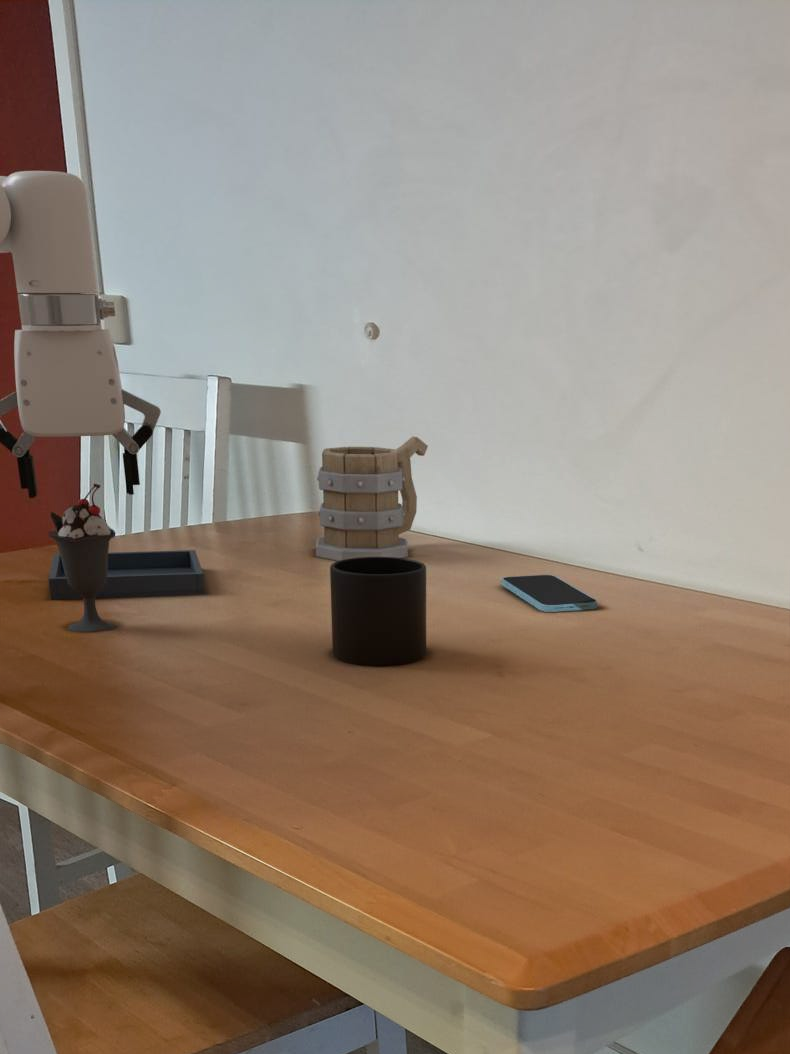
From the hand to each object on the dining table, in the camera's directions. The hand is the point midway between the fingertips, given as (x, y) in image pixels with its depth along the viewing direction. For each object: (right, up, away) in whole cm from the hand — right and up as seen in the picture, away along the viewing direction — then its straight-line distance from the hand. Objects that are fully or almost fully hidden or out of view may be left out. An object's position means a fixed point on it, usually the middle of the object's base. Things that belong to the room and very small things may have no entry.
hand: (82, 494), depth 131 cm
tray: (-2, -4, +26) cm, 26 cm away
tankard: (+27, +6, +50) cm, 57 cm away
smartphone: (+49, -6, +23) cm, 55 cm away
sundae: (-1, -13, +6) cm, 14 cm away
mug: (+31, -17, -2) cm, 35 cm away
